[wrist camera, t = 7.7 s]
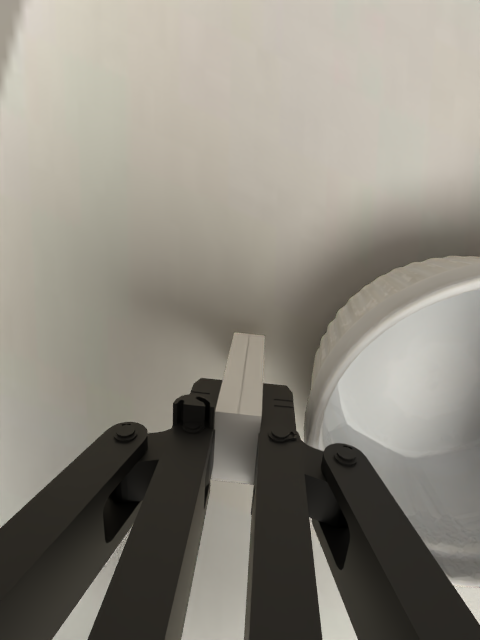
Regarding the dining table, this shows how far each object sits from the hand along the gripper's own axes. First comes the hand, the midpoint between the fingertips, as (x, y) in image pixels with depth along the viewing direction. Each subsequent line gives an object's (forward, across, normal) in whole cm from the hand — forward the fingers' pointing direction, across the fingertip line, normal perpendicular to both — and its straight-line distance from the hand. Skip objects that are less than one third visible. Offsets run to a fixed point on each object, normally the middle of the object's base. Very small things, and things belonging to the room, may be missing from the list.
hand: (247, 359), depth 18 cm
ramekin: (+2, +9, 0) cm, 9 cm away
